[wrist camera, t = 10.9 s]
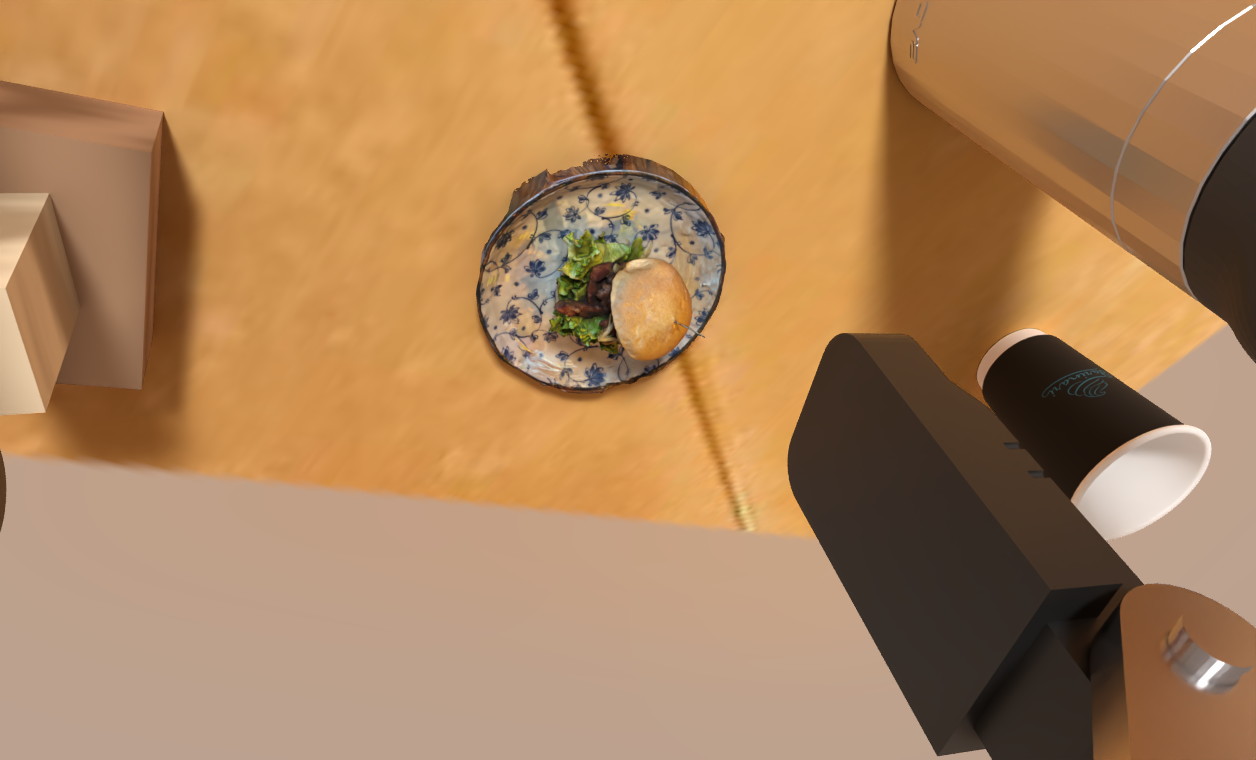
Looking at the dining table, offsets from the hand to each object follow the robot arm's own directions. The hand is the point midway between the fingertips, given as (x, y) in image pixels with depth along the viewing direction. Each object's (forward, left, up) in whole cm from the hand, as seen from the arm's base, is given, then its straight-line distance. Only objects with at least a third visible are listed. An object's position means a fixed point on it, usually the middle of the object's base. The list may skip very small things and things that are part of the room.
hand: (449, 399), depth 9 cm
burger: (-12, +15, -28) cm, 34 cm away
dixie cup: (-39, +20, -28) cm, 52 cm away
